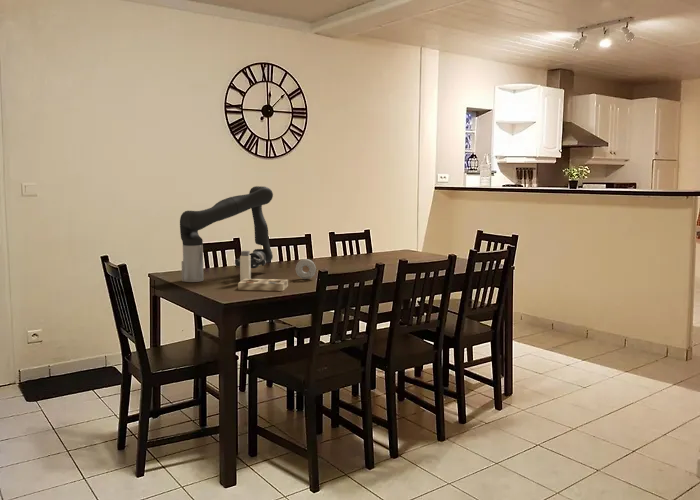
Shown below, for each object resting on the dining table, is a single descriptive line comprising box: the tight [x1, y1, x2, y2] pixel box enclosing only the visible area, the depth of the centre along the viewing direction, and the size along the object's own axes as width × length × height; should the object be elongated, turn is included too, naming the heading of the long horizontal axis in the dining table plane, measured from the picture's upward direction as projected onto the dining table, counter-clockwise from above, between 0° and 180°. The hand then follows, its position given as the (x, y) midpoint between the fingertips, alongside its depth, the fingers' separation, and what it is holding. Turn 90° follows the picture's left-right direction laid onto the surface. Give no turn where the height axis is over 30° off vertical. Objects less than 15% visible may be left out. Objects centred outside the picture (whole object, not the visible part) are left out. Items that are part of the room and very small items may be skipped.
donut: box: [295, 258, 317, 280], centre depth 306 cm, size 10×3×10 cm, turn 86°
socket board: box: [237, 278, 289, 292], centre depth 281 cm, size 20×12×3 cm, turn 85°
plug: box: [239, 250, 252, 282], centre depth 293 cm, size 4×4×15 cm
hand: (247, 264), depth 296 cm, fingers open, 8 cm apart
